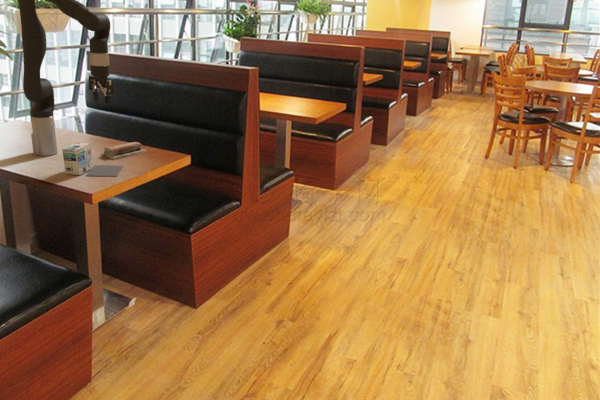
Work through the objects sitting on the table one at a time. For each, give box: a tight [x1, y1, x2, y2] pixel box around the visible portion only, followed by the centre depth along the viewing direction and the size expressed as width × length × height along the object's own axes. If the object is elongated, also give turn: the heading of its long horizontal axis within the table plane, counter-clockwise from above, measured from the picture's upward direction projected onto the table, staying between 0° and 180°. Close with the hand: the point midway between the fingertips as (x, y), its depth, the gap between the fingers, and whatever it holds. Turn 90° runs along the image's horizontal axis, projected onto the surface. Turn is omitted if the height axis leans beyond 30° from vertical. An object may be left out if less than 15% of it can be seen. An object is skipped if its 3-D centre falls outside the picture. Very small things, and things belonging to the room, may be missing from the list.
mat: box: [85, 164, 124, 177], centre depth 234 cm, size 12×14×1 cm
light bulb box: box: [61, 142, 94, 176], centre depth 230 cm, size 11×7×11 cm, turn 168°
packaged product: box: [100, 141, 148, 160], centre depth 258 cm, size 18×5×10 cm
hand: (101, 102), depth 236 cm, fingers open, 8 cm apart
